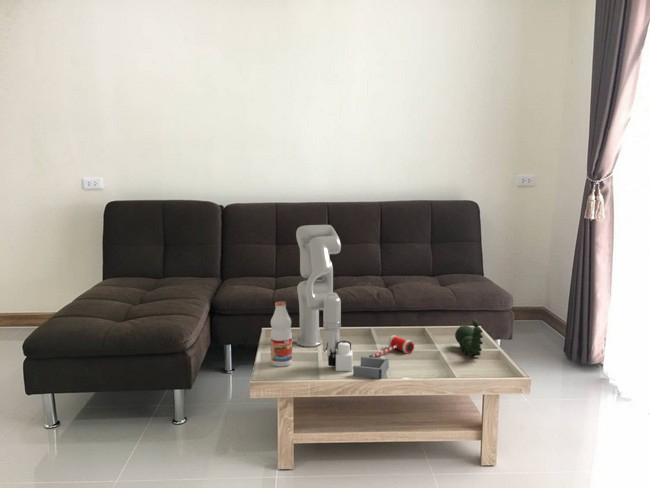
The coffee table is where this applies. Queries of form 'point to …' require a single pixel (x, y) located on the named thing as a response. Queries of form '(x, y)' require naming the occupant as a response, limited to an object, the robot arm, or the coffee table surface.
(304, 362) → the coffee table surface
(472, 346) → the toy figurine
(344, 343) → the medicine bottle
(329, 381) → the coffee table surface
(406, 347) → the toy hammer
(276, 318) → the fruit juice
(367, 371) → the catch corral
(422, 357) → the coffee table surface
